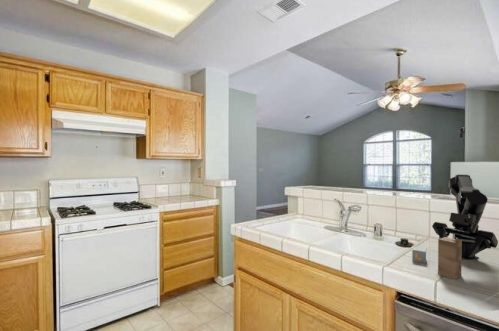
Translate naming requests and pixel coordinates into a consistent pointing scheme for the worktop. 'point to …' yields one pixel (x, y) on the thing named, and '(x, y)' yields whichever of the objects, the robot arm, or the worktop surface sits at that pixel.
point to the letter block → (419, 254)
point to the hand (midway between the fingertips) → (454, 252)
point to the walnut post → (449, 257)
